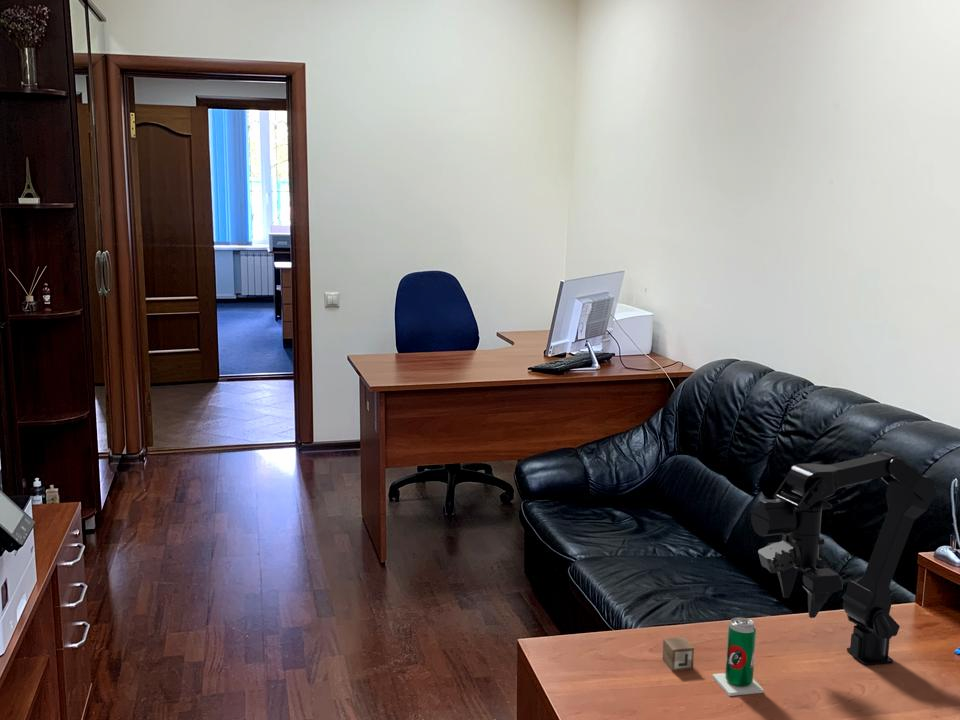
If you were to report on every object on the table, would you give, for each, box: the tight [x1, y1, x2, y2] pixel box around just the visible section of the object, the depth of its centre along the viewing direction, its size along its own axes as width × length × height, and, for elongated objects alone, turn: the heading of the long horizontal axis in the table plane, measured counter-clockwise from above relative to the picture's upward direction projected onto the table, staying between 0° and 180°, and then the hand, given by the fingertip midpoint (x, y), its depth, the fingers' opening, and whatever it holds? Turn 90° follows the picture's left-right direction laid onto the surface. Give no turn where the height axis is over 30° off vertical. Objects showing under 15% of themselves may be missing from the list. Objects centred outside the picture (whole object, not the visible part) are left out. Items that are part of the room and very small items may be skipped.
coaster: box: [711, 672, 765, 697], centre depth 167 cm, size 7×7×1 cm
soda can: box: [724, 616, 757, 687], centre depth 166 cm, size 5×5×12 cm
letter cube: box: [662, 636, 695, 672], centre depth 175 cm, size 4×5×4 cm
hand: (798, 607), depth 171 cm, fingers open, 9 cm apart
